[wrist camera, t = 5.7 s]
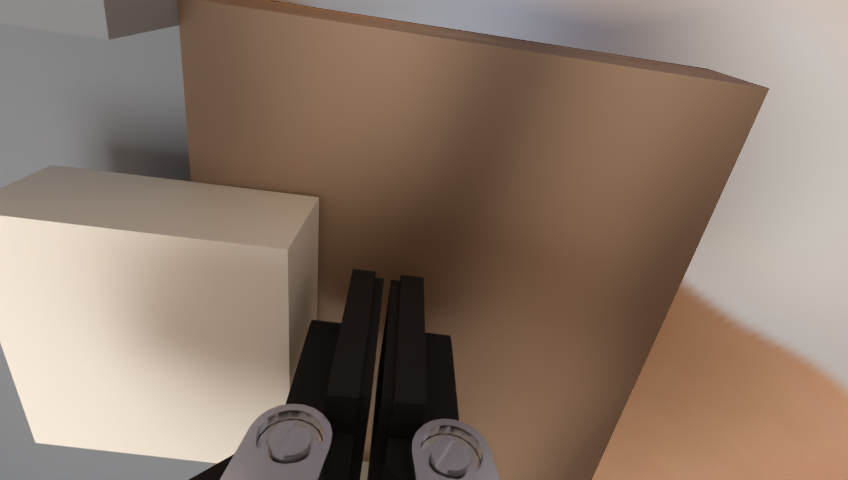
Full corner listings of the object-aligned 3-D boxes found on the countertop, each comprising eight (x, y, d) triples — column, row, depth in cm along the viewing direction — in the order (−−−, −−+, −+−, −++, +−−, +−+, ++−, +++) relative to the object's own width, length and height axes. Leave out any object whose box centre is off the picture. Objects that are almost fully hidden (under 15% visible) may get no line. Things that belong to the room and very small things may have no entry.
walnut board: (707, 69, 13) (769, 88, 10) (522, 542, 22) (534, 606, 20) (222, -8, 12) (176, -4, 9) (242, 520, 21) (222, 585, 19)
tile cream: (319, 196, 11) (287, 249, 9) (315, 394, 14) (290, 471, 12) (51, 164, 11) (-47, 209, 9) (101, 369, 14) (35, 442, 12)
